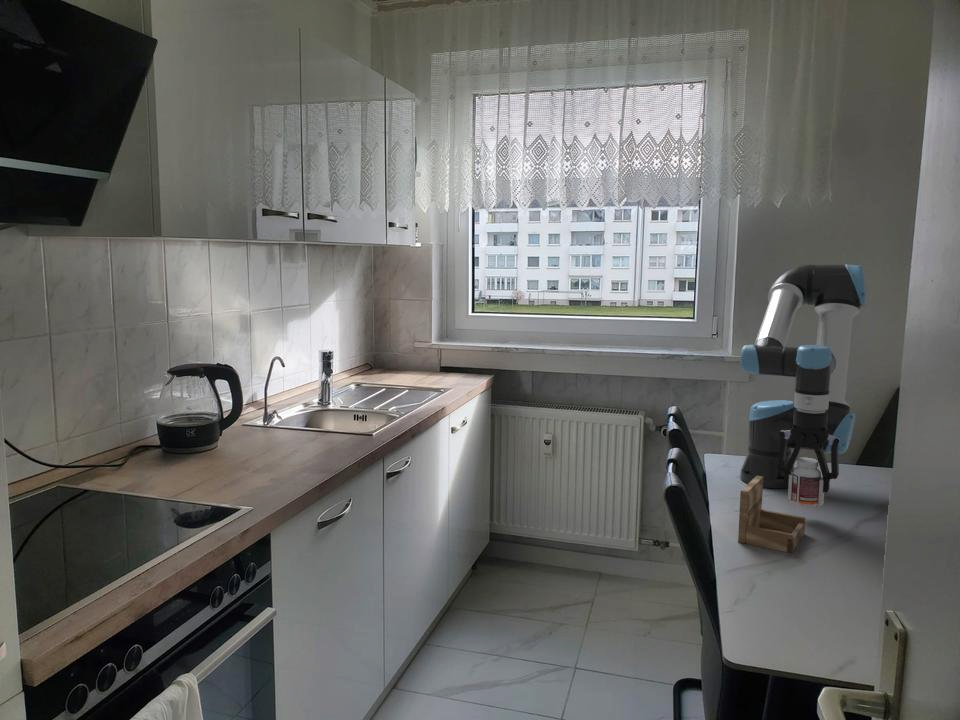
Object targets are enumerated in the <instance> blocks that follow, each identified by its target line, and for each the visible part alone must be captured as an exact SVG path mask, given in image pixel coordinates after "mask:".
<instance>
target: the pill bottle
mask: <svg viewBox="0 0 960 720" xmlns="http://www.w3.org/2000/svg"><path fill="white" fill-rule="evenodd" d="M818 467H819V462H818V459H816V458H811V457H805V456H803V457H797V459H796V467H794V468H795V469H794V471H793V489H792V500H791V502H792V503H793V504H794V505H796V506H798V507H805V508H815V507H819V506H818V499H819V483H820V479H821V477H822V472H821V469H820V468H818Z"/></svg>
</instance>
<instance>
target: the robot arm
mask: <svg viewBox="0 0 960 720" xmlns="http://www.w3.org/2000/svg"><path fill="white" fill-rule="evenodd" d="M866 294H867V293H866V279H865V270H864V268H863V267H862V266H861V265H860V264H859V265H857V264H856V265H855V264H847V263H845V264H801V265H798V266H795V267H793V268H791V269H789V270H786V272H784V273H782V274H781V275H780V276H779V277H778V278H777V279H775V281H774V282H773V283H772V285H771V286H770V289H769V291H768V293H767V301H768V305H767V307H766V311H765V313H764V316H763V319H762V322H761V325H760V328H759V331H758V332H757V336H756V338H755V341H754V344H745V345H743V347H742V349H741V352H740V358H739V359H740V360H739V361H740V364H739V365H740V370H741V371H742V372H743V373H745V374H753V375H758V376H759V375H762V376H777V377H779V376H780V377H786V378H787V377H788V378H789V377H790V378H795V388H794V398H793V400H794V401H792V400H786V399H782V400H781V399H780V400H779V399H777V400H776V399H774V400H765V401H764V400H763V401H759V402H756V403H754V404H753V405H752V406H751V407H750V410H749V411H750V412H749V418H748V421H749V422H748V423H749V424H748V445H747V446H748V447H747V454H746V456H745V459H744V460H743V461H744V462H743V464H742V466H741V469H740V476H739V479H740V480H741V481H742V482H744V483H746V484H748V483H749V482H750V481H752V480H753V479H754V478H755V477H756V476H762V477H763V488H765V489H767V488H768V489H787V501H790V502H792V489H793V471H794V469H795V468H796V467H795V463H796V462H797V459H798V458H799V454H800V452H801V450H802V451H811V452H814V453H815V455H816V457H817V459H816V460H818V467H819V470H820V472H821V479H820V483H819V499H818V506H817V507H822V506H823V504H824V502H825V501H824V500H825V494H827V493H829V490H830V486H831V485H830V483H831V480H836V479H837V478H838V477H839V475H840V473H839V472H840V470H839V469H840V468H839V467H840V466H839V455H840V454H844V453H846V451H847V450H848V448H849V446H850V443H851V440H852V436H853V433H854V427H855V421H856V413H854V412H853V411H851V405H850V404H849V403H848V402H847V401H846V393H847V392H846V391H847V379H848V370H849V369H848V368H849V359H850V350H851V338H852V329H853V321H854V320H853V319H854V318H855V316H857V315H859V313H860V312H861V311H860V310H861V308H863V307H866V306H867V297H866V296H867V295H866ZM802 305H808V306H809V305H811V306H814V309H813V310H814V312H815V313H816V314H817V315H818V324H817V334H816V344H805V345H804V344H803V345H800V346H799V347H791V346H786V345H787V342H788V340H789V334H790V332H791V329H792V325H793V323H794V319H795V315H796V313H797V310H798V309H800V307H801V306H802ZM792 449H793V451H792ZM825 454H830V461H831V462H830V466H831V468H829V466H828V462H827V458H826V456H825ZM830 469H831V472H830Z"/></svg>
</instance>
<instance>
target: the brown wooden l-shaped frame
mask: <svg viewBox="0 0 960 720" xmlns="http://www.w3.org/2000/svg"><path fill="white" fill-rule="evenodd" d="M763 490H764V487H763V477H762V476H756V477H755V478H754V479H753V480H752V481H750V482H749V483H746V485H745V486H744V487H743V488H742V489H740V495H739V499H740V500H739V515H738V517H739V518H738V519H739V520H738V537H737V542H738V543H740V544H747V545H752V546H756V547H761V548H765V549H766V548H767V549H769V550H770V549H771V550H775V551H780V552H784V553H789V554H793V552H794V550H795V549H796V547H797V546H798V545H799V543H800V542H801V540H802V538H803V537H804V536H805V531H806V517H805V516H804V517H803V516H799V515H795V514H788V513H783V512H777V511H772V510H766V509H762V508H763V507H762V506H763V492H764V491H763Z"/></svg>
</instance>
